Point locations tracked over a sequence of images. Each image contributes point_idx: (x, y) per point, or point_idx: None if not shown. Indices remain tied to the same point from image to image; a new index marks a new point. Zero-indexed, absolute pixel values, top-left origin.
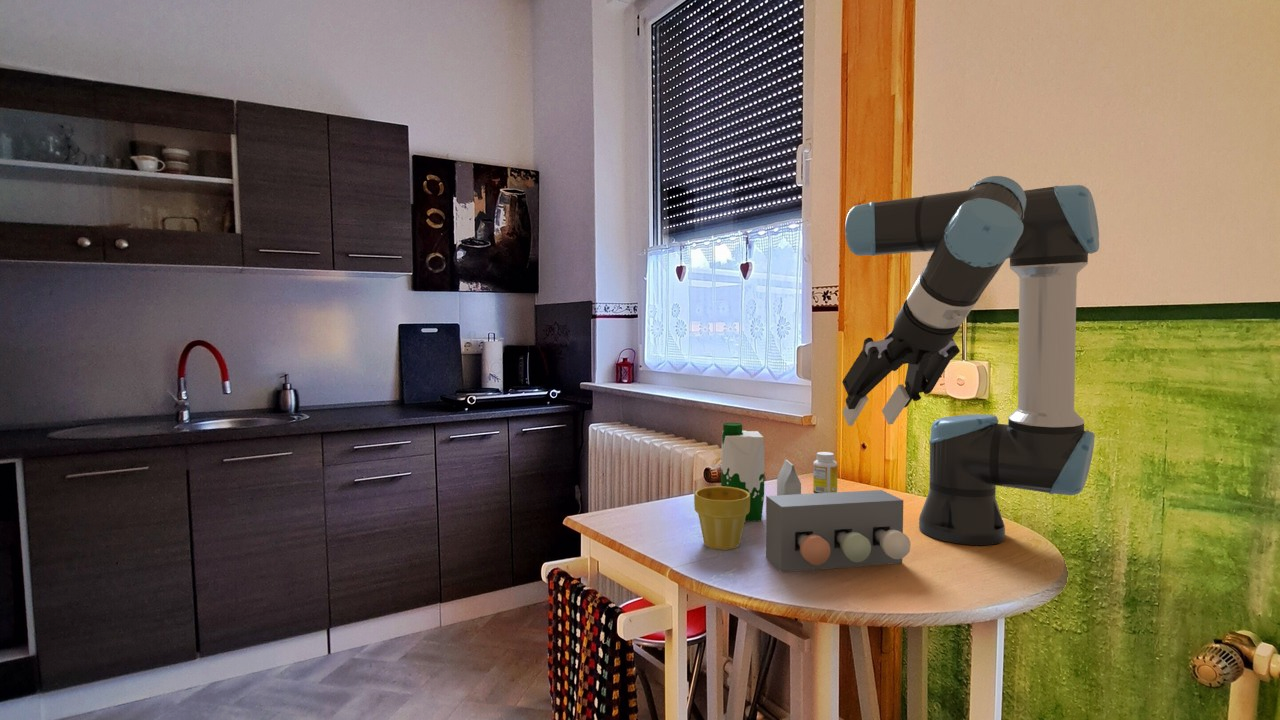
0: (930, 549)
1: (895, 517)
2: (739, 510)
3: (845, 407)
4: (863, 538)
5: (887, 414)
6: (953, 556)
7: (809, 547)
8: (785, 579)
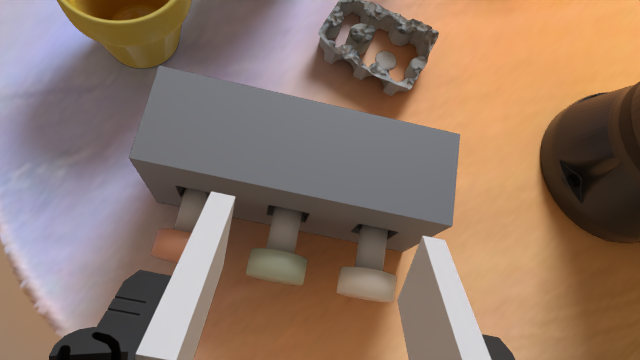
0: (499, 214)
1: (417, 230)
2: (129, 39)
3: (201, 215)
4: (287, 278)
5: (412, 290)
6: (515, 259)
7: (161, 255)
8: (141, 234)
